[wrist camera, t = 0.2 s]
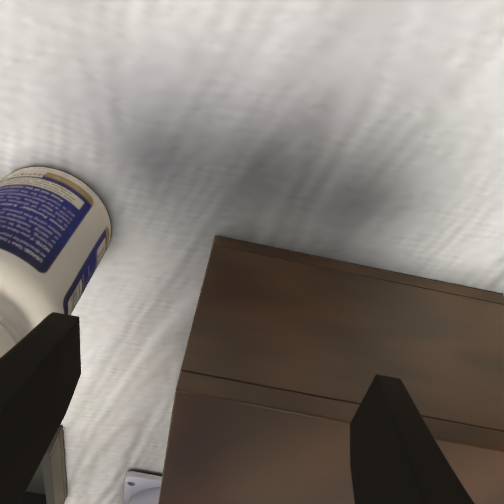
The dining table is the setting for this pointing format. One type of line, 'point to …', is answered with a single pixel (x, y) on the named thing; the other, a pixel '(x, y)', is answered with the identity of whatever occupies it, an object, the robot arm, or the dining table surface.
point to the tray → (49, 476)
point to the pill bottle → (46, 247)
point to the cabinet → (326, 376)
